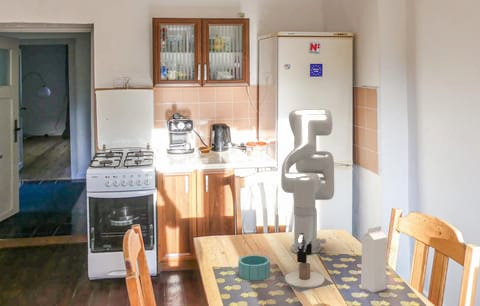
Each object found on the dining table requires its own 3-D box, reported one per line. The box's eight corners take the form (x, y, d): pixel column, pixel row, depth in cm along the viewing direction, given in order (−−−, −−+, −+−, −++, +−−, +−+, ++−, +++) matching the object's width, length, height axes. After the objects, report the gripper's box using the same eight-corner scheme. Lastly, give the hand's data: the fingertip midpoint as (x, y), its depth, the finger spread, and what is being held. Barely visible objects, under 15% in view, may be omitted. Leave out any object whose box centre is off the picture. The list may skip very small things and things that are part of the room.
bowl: (260, 268, 200) (260, 253, 199) (275, 277, 189) (275, 262, 189) (233, 273, 194) (233, 258, 194) (247, 283, 184) (247, 267, 183)
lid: (309, 270, 195) (309, 255, 194) (332, 283, 182) (332, 267, 181) (277, 277, 188) (277, 261, 188) (299, 291, 176) (299, 274, 175)
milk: (386, 290, 177) (388, 228, 174) (372, 294, 174) (374, 230, 171) (373, 284, 182) (375, 223, 179) (360, 287, 179) (361, 226, 176)
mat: (310, 271, 195) (310, 270, 195) (334, 284, 182) (334, 283, 182) (276, 278, 189) (276, 277, 189) (298, 293, 175) (298, 291, 175)
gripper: (299, 205, 191) (299, 250, 193) (288, 216, 175) (288, 264, 176) (319, 206, 189) (319, 252, 190) (310, 217, 172) (310, 266, 174)
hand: (304, 258), depth 183 cm, fingers open, 9 cm apart
